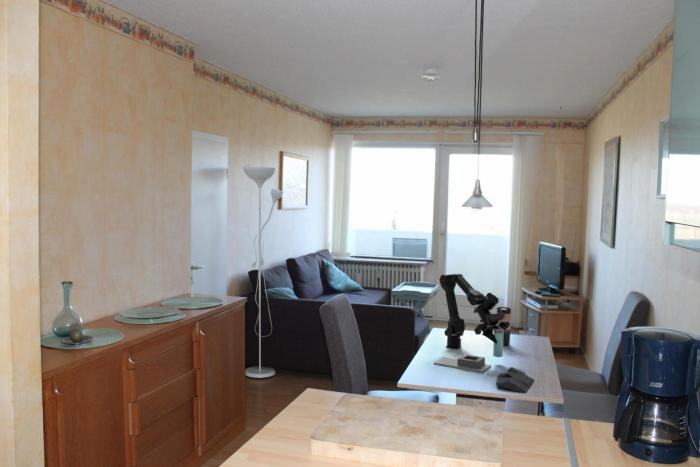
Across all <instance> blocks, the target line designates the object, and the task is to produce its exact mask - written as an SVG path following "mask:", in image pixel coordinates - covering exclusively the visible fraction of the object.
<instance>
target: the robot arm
mask: <svg viewBox="0 0 700 467" xmlns="http://www.w3.org/2000/svg"><path fill="white" fill-rule="evenodd" d="M465 278H466V277H464V276H463V274H462V273H451V274H450V273H449V274H447V273H446V274H441V275H440V277H439V284H440V287H441V288H442V289H443V291H444V293H445V300H446V305H447V310H448V315H449V316H448V317H449V319H448V322H447V328H445V330H444V336H446V339H447V340H446V345H445V348H447V347H449V348H448V349H456V350H458V349H460V348H461V347H462V338H461V337H463V336H464V332H465V329H466V325H465V320H464V318H462V317H460V314H459V309H458V303H457V299H456V298H457V297H456V293H455V292H456V291H455V290H456V286H458V287H459V289H460V290H462V292H463V293H464V294H465V295H466V299H467V301H468V303H469V305H471V306H477V307H474V310H473V313H474V314H478V316H479V319H480V320H479V322H480V323H479V324H478V325H476V327H475V328H474V333H475V335H476V336H477V335H482V336H484V337H486V338H487V339H489V340H490V341H491V342H493V344H494V343H496V344H497V340H496V338H495V336H494V328H501V329H504V331H505V330H506V329H507V328H508V327H509V326H510V324H509V322H508V321H502V322H501V323H500V324H499V325H497V323H499V320H503V318H505V315H504V313H503V312H498V313H497V312H495V313H491V311H492V310H493V309H494V308H495V307H496V306H497V305H498V303H499V302H500V300H499V297H497V296H496V295H494V294H492V292H488V293H487V294H486V295H485V294H483V293H482V292H480V291H479V290H477V289H475V288H474V287H473V286H472V285H471V284H470V283H469V282H468V281H467V280H466V279H465ZM504 342H505V339H504V333H503V343H504Z"/></svg>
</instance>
